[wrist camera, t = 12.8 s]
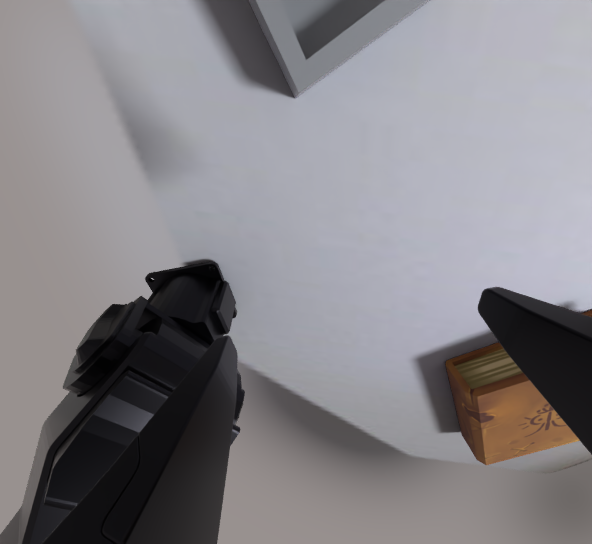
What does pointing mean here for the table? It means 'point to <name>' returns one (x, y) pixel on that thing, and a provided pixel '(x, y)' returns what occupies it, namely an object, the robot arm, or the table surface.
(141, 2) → the table surface
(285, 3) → the tray
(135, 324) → the robot arm
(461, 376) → the diary
